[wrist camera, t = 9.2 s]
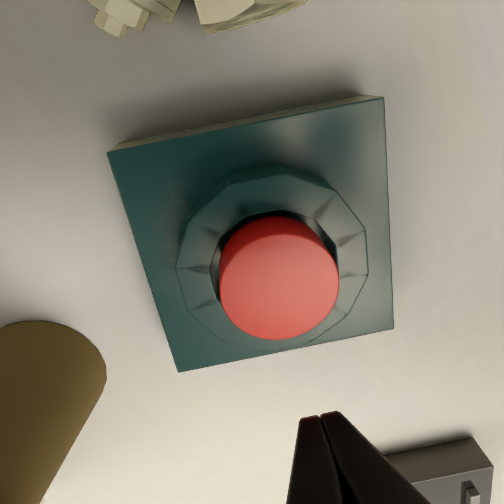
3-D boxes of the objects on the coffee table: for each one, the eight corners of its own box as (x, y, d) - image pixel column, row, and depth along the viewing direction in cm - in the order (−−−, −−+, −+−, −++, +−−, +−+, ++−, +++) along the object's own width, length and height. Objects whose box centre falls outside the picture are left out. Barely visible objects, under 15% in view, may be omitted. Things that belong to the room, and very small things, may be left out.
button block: (363, 94, 16) (407, 98, 12) (376, 304, 20) (412, 354, 16) (119, 143, 16) (91, 161, 12) (181, 344, 20) (174, 402, 16)
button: (320, 205, 14) (334, 221, 12) (331, 302, 16) (344, 327, 14) (207, 227, 14) (207, 247, 12) (230, 322, 16) (232, 350, 14)
